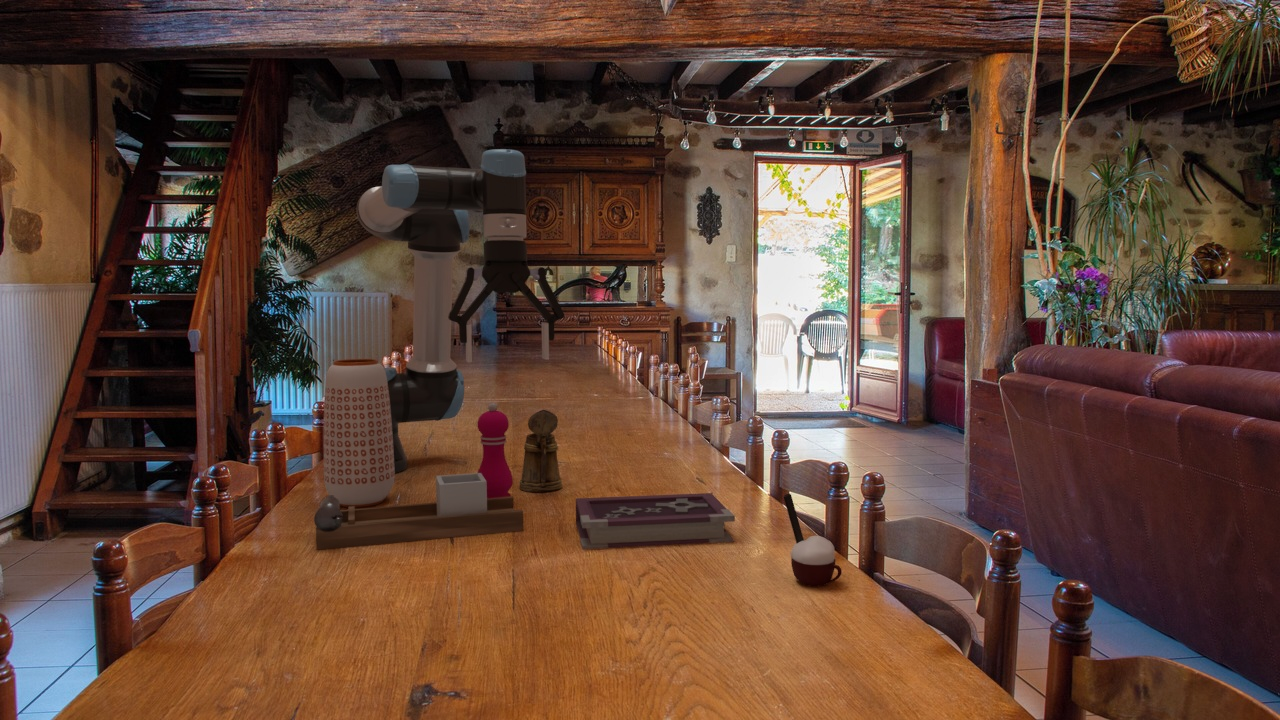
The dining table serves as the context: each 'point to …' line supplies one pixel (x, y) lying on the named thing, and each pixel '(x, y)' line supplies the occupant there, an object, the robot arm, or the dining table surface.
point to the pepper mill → (494, 452)
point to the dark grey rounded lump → (328, 514)
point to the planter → (358, 433)
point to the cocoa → (810, 554)
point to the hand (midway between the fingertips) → (507, 360)
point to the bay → (417, 524)
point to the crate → (461, 494)
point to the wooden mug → (541, 455)
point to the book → (651, 520)
